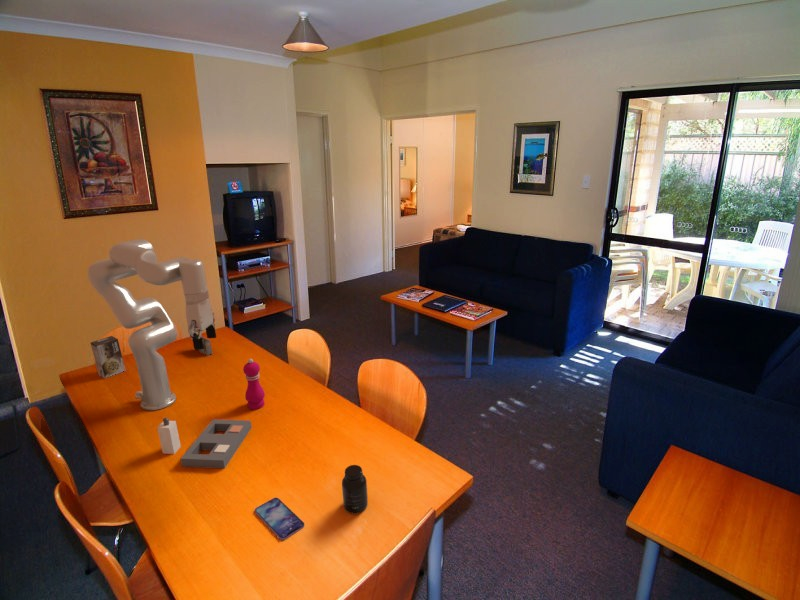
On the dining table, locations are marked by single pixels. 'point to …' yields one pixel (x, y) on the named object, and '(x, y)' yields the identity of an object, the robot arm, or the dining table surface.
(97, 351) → the coffee box
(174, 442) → the plug
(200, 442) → the socket board
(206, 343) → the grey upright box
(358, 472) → the supplement bottle
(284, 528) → the smartphone
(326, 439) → the dining table surface
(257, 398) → the pepper mill
